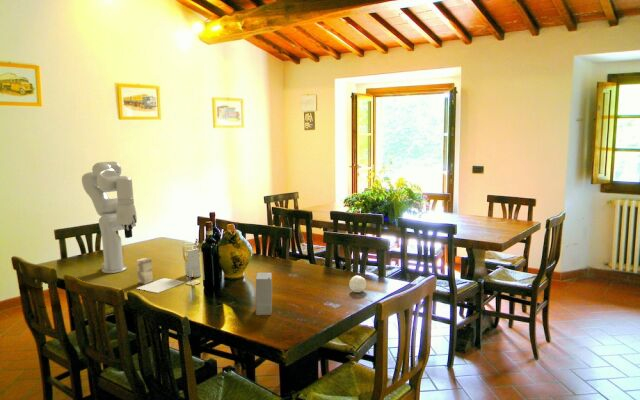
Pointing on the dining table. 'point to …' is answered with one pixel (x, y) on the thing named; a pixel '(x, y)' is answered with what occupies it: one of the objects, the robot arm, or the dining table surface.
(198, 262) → the skincare box
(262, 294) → the skincare box
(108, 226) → the robot arm
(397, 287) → the dining table surface
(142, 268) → the birch block
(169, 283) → the mat
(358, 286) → the geometric ball
